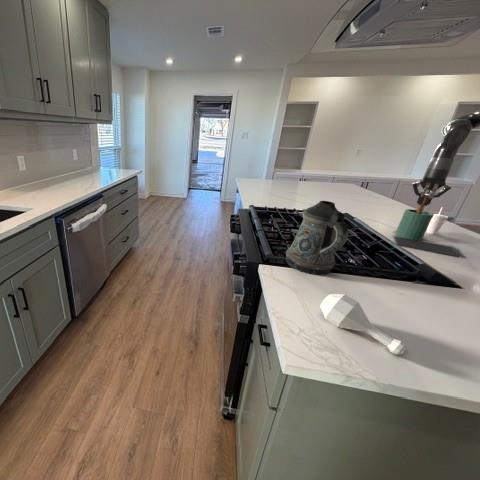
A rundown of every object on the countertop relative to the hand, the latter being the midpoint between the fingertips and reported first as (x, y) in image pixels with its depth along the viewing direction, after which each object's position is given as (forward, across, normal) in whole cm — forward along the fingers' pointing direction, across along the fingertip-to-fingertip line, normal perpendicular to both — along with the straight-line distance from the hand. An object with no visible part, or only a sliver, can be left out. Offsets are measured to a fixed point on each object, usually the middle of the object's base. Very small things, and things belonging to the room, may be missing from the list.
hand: (422, 204), depth 121 cm
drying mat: (+17, +4, -12) cm, 21 cm away
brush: (+13, 0, 0) cm, 13 cm away
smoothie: (+17, +11, +15) cm, 25 cm away
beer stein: (+17, -36, -66) cm, 77 cm away
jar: (+17, 0, 0) cm, 17 cm away
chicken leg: (+17, -22, -99) cm, 103 cm away
